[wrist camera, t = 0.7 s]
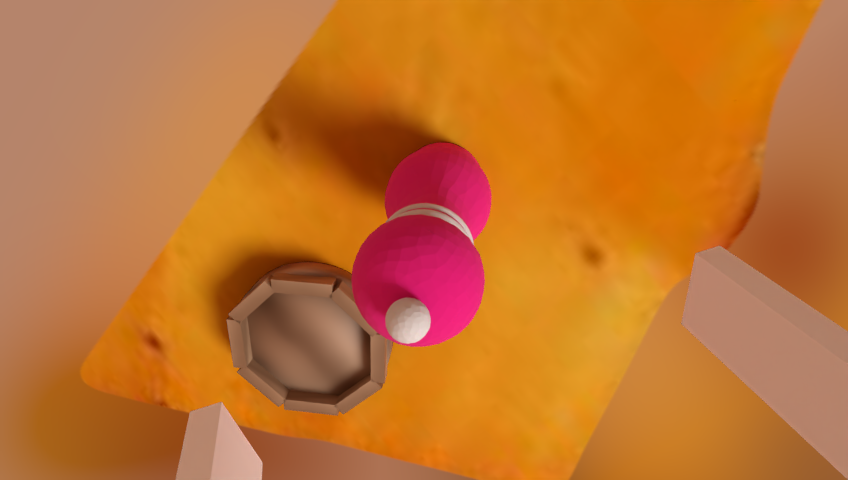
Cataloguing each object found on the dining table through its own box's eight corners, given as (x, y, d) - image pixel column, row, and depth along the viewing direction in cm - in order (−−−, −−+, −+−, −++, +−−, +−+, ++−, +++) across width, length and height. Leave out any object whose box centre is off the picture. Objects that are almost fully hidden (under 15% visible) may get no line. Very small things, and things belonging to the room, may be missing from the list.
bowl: (312, 230, 38) (298, 246, 35) (425, 340, 41) (421, 363, 38) (215, 320, 43) (196, 340, 40) (323, 412, 46) (312, 437, 43)
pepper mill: (377, 173, 36) (271, 312, 17) (451, 114, 33) (419, 204, 15) (434, 242, 37) (393, 434, 19) (508, 191, 35) (542, 355, 17)
